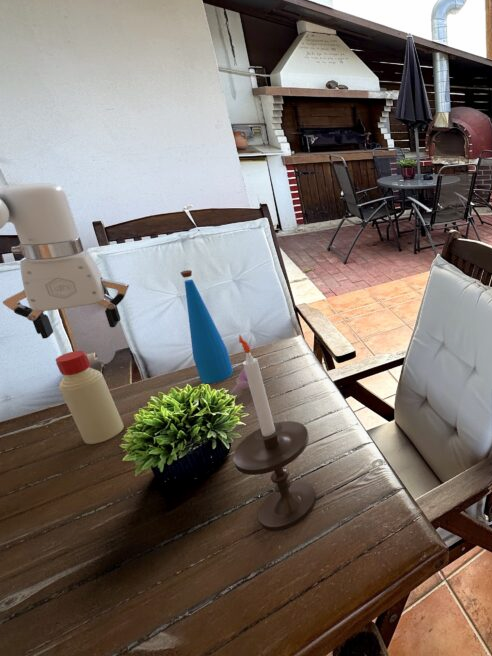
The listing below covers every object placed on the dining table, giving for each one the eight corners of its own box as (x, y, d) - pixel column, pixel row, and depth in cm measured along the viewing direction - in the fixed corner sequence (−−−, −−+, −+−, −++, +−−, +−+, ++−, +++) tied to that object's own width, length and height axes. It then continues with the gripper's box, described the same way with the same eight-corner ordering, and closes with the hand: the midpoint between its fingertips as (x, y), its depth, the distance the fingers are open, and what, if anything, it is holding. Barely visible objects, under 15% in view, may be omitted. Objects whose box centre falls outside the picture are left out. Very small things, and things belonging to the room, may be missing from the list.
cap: (56, 377, 80) (49, 363, 79) (69, 366, 84) (63, 352, 83) (83, 372, 82) (77, 359, 81) (94, 362, 85) (89, 348, 84)
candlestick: (238, 523, 69) (180, 346, 57) (290, 475, 78) (250, 314, 66) (285, 545, 65) (234, 360, 53) (334, 491, 75) (300, 325, 63)
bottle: (217, 385, 105) (185, 277, 95) (193, 382, 106) (160, 275, 96) (239, 369, 112) (212, 267, 102) (217, 367, 113) (188, 265, 103)
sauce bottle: (77, 447, 85) (39, 369, 78) (94, 427, 90) (60, 353, 84) (115, 439, 87) (82, 363, 80) (129, 420, 93) (99, 347, 86)
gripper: (-26, 260, 69) (10, 348, 74) (111, 248, 78) (134, 327, 83) (-5, 250, 75) (27, 332, 80) (120, 240, 84) (141, 314, 89)
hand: (82, 330), depth 81 cm, fingers open, 9 cm apart
